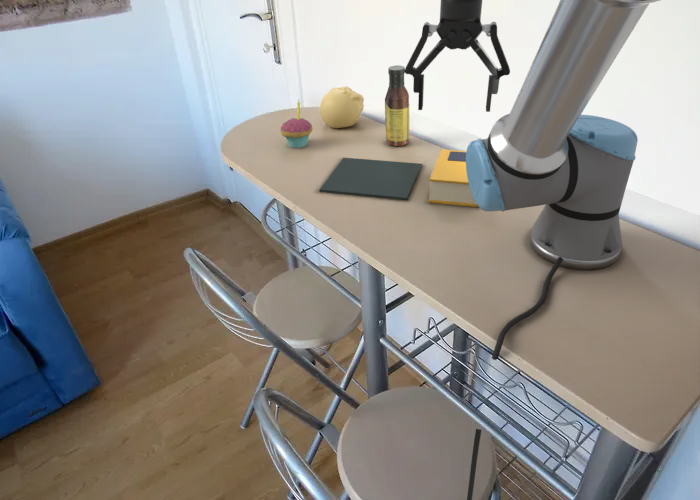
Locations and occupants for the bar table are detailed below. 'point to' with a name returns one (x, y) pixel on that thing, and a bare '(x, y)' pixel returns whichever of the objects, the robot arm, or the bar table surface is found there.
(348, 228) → the bar table surface
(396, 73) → the sauce bottle
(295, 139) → the cupcake
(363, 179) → the desk mat
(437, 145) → the bar table surface
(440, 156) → the yellow box with panel
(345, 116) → the sculpture
